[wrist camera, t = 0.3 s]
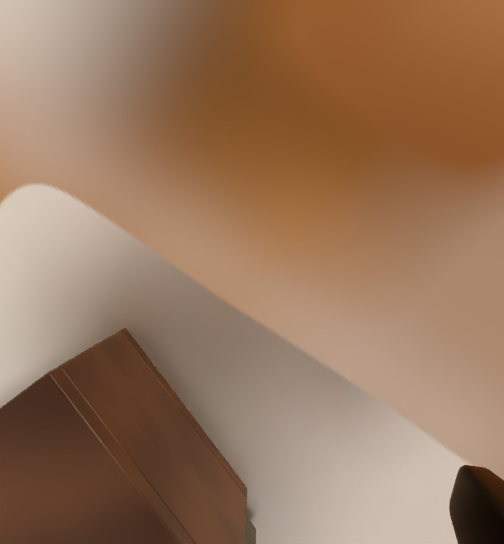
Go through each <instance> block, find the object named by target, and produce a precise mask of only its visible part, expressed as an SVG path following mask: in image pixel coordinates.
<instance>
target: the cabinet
mask: <svg viewBox="0 0 504 544" xmlns="http://www.w3.org/2000/svg"><path fill="white" fill-rule="evenodd" d="M246 497H247V488H246V487H245V486H244V484H243V483H242V482H241V480H240V479H239V478H238V476H237V475H236V474H235V472H234V471H233V470H232V468H231V467H230V466H229V464H228V463H227V462H226V460H225V459H224V458H223V456H222V455H221V454H220V452H219V451H218V450H217V448H216V447H215V446H214V444H213V443H212V442H211V441H210V439H209V438H208V437H207V435H206V434H205V433H204V431H203V430H202V429H201V427H200V426H199V425H198V423H197V422H196V421H195V419H194V418H193V417H192V415H191V414H190V413H189V411H188V410H187V409H186V407H185V406H184V405H183V403H182V402H181V401H180V399H179V398H178V397H177V396H176V394H175V393H174V392H173V390H172V389H171V388H170V386H169V385H168V384H167V382H166V381H165V380H164V378H163V377H162V376H161V374H160V373H159V372H158V370H157V369H156V368H155V366H154V365H153V364H152V362H151V361H150V360H149V358H148V357H147V356H146V354H145V353H144V352H143V351H142V349H141V348H140V347H139V345H138V344H137V343H136V341H135V340H134V339H133V337H132V336H131V335H130V333H129V332H128V331H127V329H126V328H125V329H123V330H121V331H119V332H118V333H116V334H114V335H112V336H111V337H109V338H107V339H105V340H104V341H102V342H100V343H98V344H97V345H95V346H93V347H91V348H90V349H88V350H86V351H84V352H83V353H81V354H79V355H77V356H76V357H74V358H72V359H70V360H69V361H67V362H65V363H63V364H62V365H60V366H59V367H57V368H55V369H53V370H51V371H50V372H48V373H47V374H45V375H44V376H43V377H41V378H40V379H39V380H37V381H36V382H35V383H33V384H32V385H31V386H29V387H28V388H27V389H25V390H24V391H23V392H21V393H20V394H18V395H17V396H16V397H14V398H13V399H12V400H10V401H9V402H8V403H6V404H5V405H4V406H2V407H1V408H0V544H244V530H245V515H246V500H247V498H246Z"/></svg>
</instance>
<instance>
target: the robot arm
mask: <svg viewBox="0 0 504 544" xmlns="http://www.w3.org/2000/svg"><path fill="white" fill-rule="evenodd" d="M449 509H450V516H451V520H452V524H453V527H454V531H455V534H456V538H457V541H458V544H504V481H503V480H502V479H501V478H499V477H498V476H497V475H495V474H494V473H493V472H491V471H490V470H488V469H486V468H483V467H476V466H469V465H464V466H462V467H461V468H460V469H459V471H458V474H457V477H456V481H455V484H454V488H453V492H452V495H451V499H450V505H449Z"/></svg>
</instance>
